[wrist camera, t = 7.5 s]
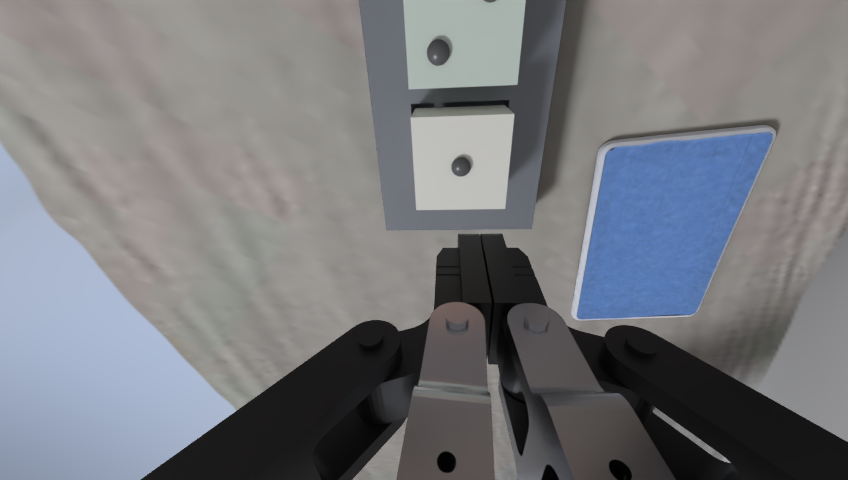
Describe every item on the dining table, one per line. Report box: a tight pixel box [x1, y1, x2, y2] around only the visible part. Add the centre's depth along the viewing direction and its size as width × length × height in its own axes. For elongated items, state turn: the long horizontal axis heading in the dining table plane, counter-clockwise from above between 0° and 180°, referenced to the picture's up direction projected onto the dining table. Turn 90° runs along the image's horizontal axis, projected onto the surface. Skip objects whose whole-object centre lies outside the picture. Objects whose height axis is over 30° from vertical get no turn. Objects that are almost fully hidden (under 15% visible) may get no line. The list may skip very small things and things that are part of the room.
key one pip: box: [411, 105, 514, 210], centre depth 21 cm, size 6×6×4 cm
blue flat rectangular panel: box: [571, 125, 776, 320], centre depth 29 cm, size 19×13×1 cm, turn 7°
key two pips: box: [403, 0, 526, 89], centre depth 17 cm, size 6×6×4 cm
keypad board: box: [359, 0, 566, 230], centre depth 20 cm, size 12×28×3 cm, turn 3°
